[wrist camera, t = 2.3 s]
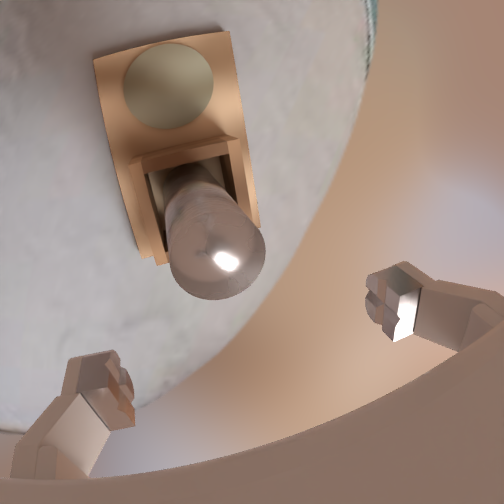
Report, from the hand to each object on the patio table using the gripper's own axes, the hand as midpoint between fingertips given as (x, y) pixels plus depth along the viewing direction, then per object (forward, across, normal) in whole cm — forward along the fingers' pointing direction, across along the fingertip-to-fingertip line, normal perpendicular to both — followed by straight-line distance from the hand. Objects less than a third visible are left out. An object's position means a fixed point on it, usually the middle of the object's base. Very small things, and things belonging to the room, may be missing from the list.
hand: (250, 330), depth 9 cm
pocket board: (+17, 0, -4) cm, 18 cm away
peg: (+16, 0, 0) cm, 16 cm away
